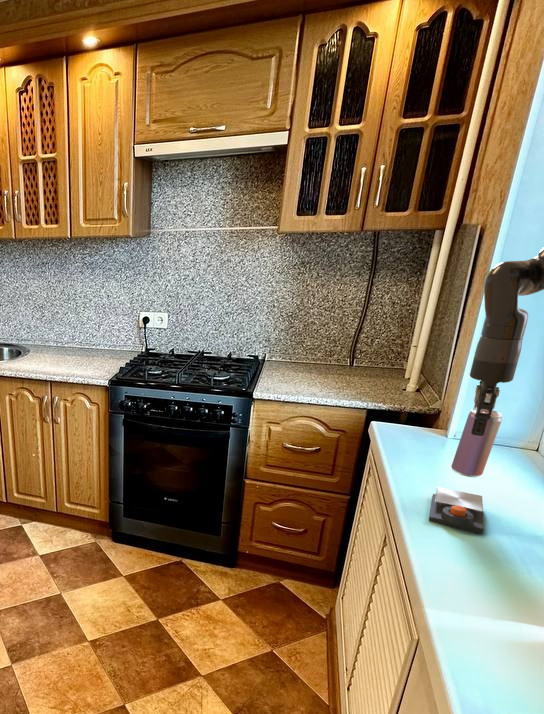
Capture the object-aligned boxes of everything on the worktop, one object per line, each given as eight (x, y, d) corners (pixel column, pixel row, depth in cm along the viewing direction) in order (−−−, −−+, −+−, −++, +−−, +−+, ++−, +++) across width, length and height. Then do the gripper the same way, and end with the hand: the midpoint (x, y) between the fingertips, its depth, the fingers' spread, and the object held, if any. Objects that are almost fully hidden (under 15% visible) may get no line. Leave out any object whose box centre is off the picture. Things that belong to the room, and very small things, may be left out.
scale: (431, 498, 132) (434, 487, 131) (481, 508, 127) (484, 497, 126) (428, 523, 121) (430, 512, 120) (482, 536, 116) (485, 524, 115)
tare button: (450, 510, 121) (451, 504, 121) (465, 513, 120) (466, 507, 119) (449, 515, 119) (451, 509, 119) (465, 518, 118) (466, 512, 117)
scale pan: (436, 488, 131) (437, 486, 131) (481, 497, 126) (482, 495, 126) (434, 502, 124) (435, 500, 124) (482, 512, 119) (482, 511, 119)
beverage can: (457, 476, 121) (477, 415, 115) (446, 465, 126) (465, 406, 120) (486, 479, 119) (509, 418, 114) (474, 468, 125) (495, 409, 119)
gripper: (520, 366, 106) (499, 443, 111) (516, 353, 117) (496, 424, 122) (474, 362, 110) (455, 437, 116) (474, 350, 121) (457, 419, 127)
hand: (476, 430), depth 119 cm, fingers closed on beverage can, 6 cm apart
